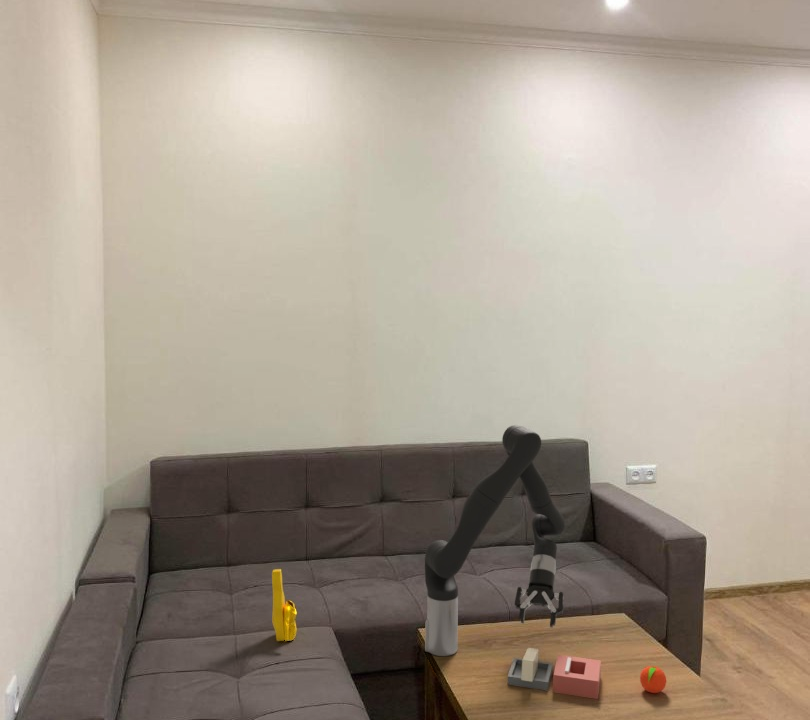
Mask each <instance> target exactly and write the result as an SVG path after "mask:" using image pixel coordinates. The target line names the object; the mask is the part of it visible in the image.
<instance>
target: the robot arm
mask: <svg viewBox="0 0 810 720" xmlns="http://www.w3.org/2000/svg"><path fill="white" fill-rule="evenodd" d="M501 441H502V445H503V446H502V447H503V448H504V450H505V452H506V453H507V455H508V456H507V458H506V460H505V461H504V462H503V463H502V465H500V466H499V467H498V468H497V469H495V470H494V471H493V472H492V473H489V474H488V475H486V476H485V477H483V478H482V479H481V480H479V482H477V484H476V485H475V486H474V488H473V489H472V491H471V492H470V494H469V495H468V497H467V498H466V500H465V502H464V504H463V507H462V510H461V514H460V518H459V522H458V525H457V528H456V529H455V532H454V533H453V535H452V536H451V537H450V539H449V541H446V540H443V539H437V540H435V541H433V542H431V543H430V544H429V545H428V547H427V548H426V550H425V554H424V578H425V579H424V580H425V586H426V591H427V592H426V594H427V599H426V600H427V602H426V604H427V607H426V610H427V614H426V616H427V617H426V619H425V621H424V622H425V624H424V626H425V628H424V632H425V633H424V641H425V642H424V651H425V652H427V653H430V654H432V656H433V655H434V656H438V657H448V656H452V655H454V654H456V653H457V651H458V642H459V641H458V635H459V634H458V632H459V631H458V629H459V628H458V627H459V625H458V624H459V623H458V622H459V621H458V617H459V615H458V614H459V611H458V610H459V607H458V606H459V587H458V584H457V582H456V578H455V575H457V574H458V573H459V571H461V569H462V567H463V566H464V564H465V562H466V561H467V558H468V557H469V554H470V553H471V550H472V548H473V547H474V545H475V543H476V541H477V540H478V539H479V538H480V536H481V535H482V533H483V531H484V530H485V528H486V526H487V525H488V523H489V522H490V520H491V519H492V518H493V516H494V515H495V513H496V512H497V510H498V509H499V507H500V505H501V504H502V503H503V501H504V499H505V498H506V496H508V494H509V492H510V490H511V489H513V486H515V484H516V482H517V481H518V480H520V481H521V483H522V486H523V490H524V492H525V494H526V499H527V500H528V504H529V506H530V509H531V511H532V512H533V513H535V515H534V516H533V517H532V519H531V522H530V523H531V530H532V531H531V532H532V536H533V544H534V545H533V554H532V560H531V563H530V570H529V580H528V586H527V588H526V589H525V588H522V587H521V586H518V587H517V590H516V595H515V601H514V607H515V609H518V610H519V615H518V619H519V621H520V623H521V624H525V619H526V617H525V616H526V610H527V609H528V608H530V607H531V606H532V605H534V606H535V607H536V606H541V607H544V608H545V606H546V607H547V608H548V610H550V612H551V613H550V619H549V628H553V627H554V626H556V621H557V615H563V613H564V593H563V592H562V591H560V592H555V591H554V588H555V580H556V579H555V578H556V573H557V572H556V570H557V569H556V568H557V566H556V563H557V562H556V561H557V560H556V559H557V551H558V545H557V544H556V542H555V541H553V540H551V539H548V538H544V537H557V536H561V535H562V534H564V533H565V531H566V521H565V518H564V516H563V515H562V513H561V512H560V510H559V509H558V508H557V506H556V504H555V503H554V502H553V500H552V496H551V494H550V490H549V487H548V485H547V483H546V482H545V479H544V478H543V476H542V474H541V473H540V471H539V470H538V469H537V466H536V465H535V463H534V460H535V458H536V457H537V456H538V454H539V453H540V450H541V447H542V439H541V436H540V434H538V433H536V432H535V431H534V430H533V431H532V430H530V429H528V428H526V426H521V425H518V424H514V425H510V426H508V427H507V428H506V429H505V430H504V433H503V435H502V439H501ZM525 594H526V596H527V598H526V599H525V600H524V601H523V602H522V603H521V601H522V597H524V595H525ZM554 598H555V599H556V601H558V608H556V607H555V606H554V604H553V602H552V601H553V600H554Z"/></svg>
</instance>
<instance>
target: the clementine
mask: <svg viewBox="0 0 810 720" xmlns="http://www.w3.org/2000/svg"><path fill="white" fill-rule="evenodd" d="M639 679H640V680H639V681H640V684H641V686H642V688H643V689H644V690H645V691H646V692H648V693H651V694H657V693H661V692H663V690H664V689H665V688H666V685H667V677H666V674H665V672H664V671H663V670H662V669H661V668H660V667H658V666H656V665H649V666H646V667H645V668H643V669H642V670H641V672H640V675H639Z"/></svg>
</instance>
